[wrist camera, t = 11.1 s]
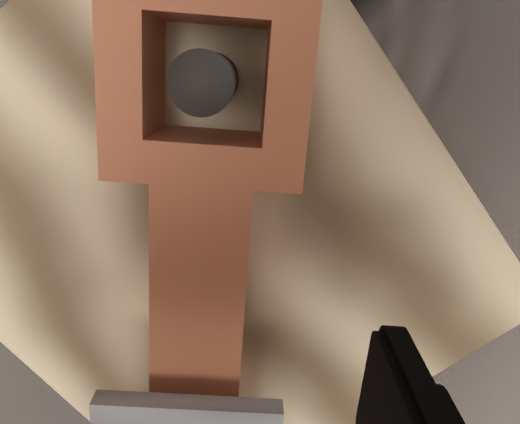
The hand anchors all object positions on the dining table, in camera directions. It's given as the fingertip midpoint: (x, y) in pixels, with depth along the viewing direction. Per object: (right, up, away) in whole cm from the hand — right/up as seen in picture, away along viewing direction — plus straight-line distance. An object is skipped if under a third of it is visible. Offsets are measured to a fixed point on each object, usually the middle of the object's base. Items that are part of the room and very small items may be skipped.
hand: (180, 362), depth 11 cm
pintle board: (0, +2, +11) cm, 11 cm away
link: (0, +3, +9) cm, 10 cm away
